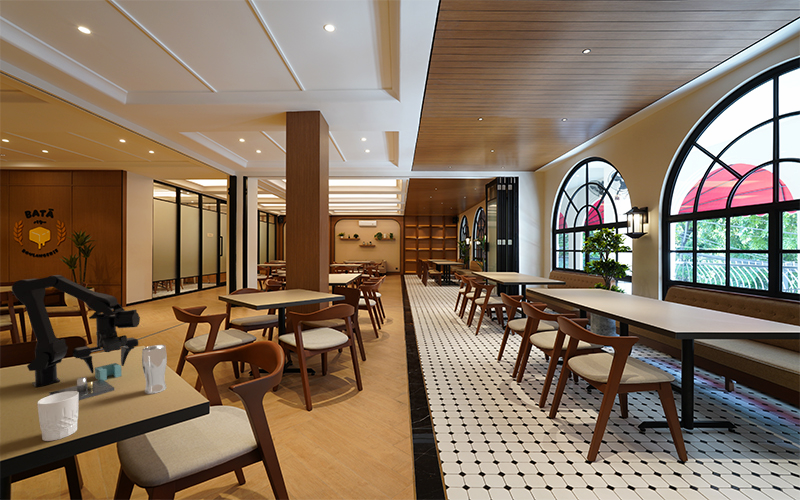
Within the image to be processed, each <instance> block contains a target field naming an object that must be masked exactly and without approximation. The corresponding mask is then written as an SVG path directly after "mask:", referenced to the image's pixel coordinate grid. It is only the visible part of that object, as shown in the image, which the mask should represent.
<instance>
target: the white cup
mask: <svg viewBox="0 0 800 500" xmlns="http://www.w3.org/2000/svg"><path fill="white" fill-rule="evenodd" d="M79 401H80V400H79V392H77V391H68V392H62V393H57V394H53V395H50V396H49V395H47V396H45V397H42V398H41V399H39V400H38V401H37V402H36V403H37V411H38V420H39V426H40V427H39V428H40V431H41V438H42V441H45V442H52V441H57V440H61V439H63V438H66V437H69V436H70V435H73V434H74V433H76V432H77V431H78V420H79V406H80V405H79Z"/></svg>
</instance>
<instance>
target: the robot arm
mask: <svg viewBox="0 0 800 500" xmlns="http://www.w3.org/2000/svg"><path fill="white" fill-rule="evenodd" d="M49 288H54V289H56V290H58V291H61V292H62V293H65V294H67V295H69V296H71V297H73V298H75V299H77V300H80V301H82V302H83V303H84V304H86V306H87V307H88V308H90V309H91V310H92V311H94V312H93V313H92V314H91V315H90V316H89V317H88V318H89V320H93V319H95V326H96V332H95V335H96V346H93V347H89V346H87V345H86V346H80V347H76V348H74V349H73V350H72V357H74V358H75V359H79V360H83V361H84V363H85V364H86V366H87V367H88V370H89V371H90V373H91V374H95V368H94V365H93V356H92V353H97V352H102V351H103V352H104V353H110V352H113V351H120V364H121V367H124V366H125V363H126V360H127V358H128V355H129V354H130V352H131V350H134V349H135V348H136V347H138V346H139V340H138V339H137V338H135V337H128V336H127V335H125V334H123V335H120V336H118V332H117V328H118V329H125V328H127V329H129V328H138V326H139V324H140V321H141V317H140V315H139V313H138V312H137V309H130V310H128V309H127V310H125V308H124V307H122V305H120V303H119V302H118V299H117V297H116V296H114V295H110V294H107V293H102V292H97V291H93V290H92V289H89V288H87V287H85V286H83V285H80V284H79V283H77V282H74V281H72V280H71V279H68V278H66V277H65V276H63V275H61V274H56V275H55V274H54V275H49V276H46V277H41V278H29V279H28V278H27V279H20V280H16V281H15V282H14V283H13V285H11V290H12V293H13V295H14V296H15V299H17V300H18V301H19V302H21V303H22V304H23V305H24V306H25V309H26V313H27V315H28V318H29V321H30V323H31V324H30V325H31V328H32V330H33V333H34V336H35V340H36V345H35V348H34V349H35V350H34V355H35V358H34V359H33V360H32V361H31V362H29V364H27V366H26V367H27V369H28V371H29V372H33V371H34V380H35V381H34V382H32V385H33V386H34V387H35V388H38V387H45V386H47V385H52V384H56V383H59V382H61V380H60V379H59V378H58V369H57V364H60V363H62V361H63V359H64V358H65V356H66V355H67V352H68V349H69V347H68V346H67V344H66V340H65V338H61V339H59V338H58V337H57V336H56V334H55V331H54V329H53V325H52V322H51V320H50V316H49V313H48V311H47V307H46V305H45V302H44V299H45V296H46V289H49Z"/></svg>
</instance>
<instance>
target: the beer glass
mask: <svg viewBox="0 0 800 500" xmlns="http://www.w3.org/2000/svg"><path fill="white" fill-rule="evenodd" d="M166 348H167V347H166V344H156V345H149V346H145V347H143V348H142V350H141V351H142V352H141V353H142V354H141V363H142V364H141V365H142V370H143V374H144V379H145V388H144V394H146V395H153V394H154V395H155V394H159V393H161V392H163V391H165V390H166V389H167V384H166V381H165V375H166V369H167V359H168V358H167V357H168V355H167V349H166Z"/></svg>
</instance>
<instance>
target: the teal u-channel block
mask: <svg viewBox="0 0 800 500" xmlns="http://www.w3.org/2000/svg"><path fill="white" fill-rule="evenodd" d="M122 374H123V373H122V365H120V364H119V363H117V362H114V363H109V364H105V365H101V366H96V367H94V375H95V376H94V377H95V378H94V379H96V380H100V379H102V380H104V381H108V378H107V377H109V376H112V375H113V377H114V378H119V377H123V376H122Z"/></svg>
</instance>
